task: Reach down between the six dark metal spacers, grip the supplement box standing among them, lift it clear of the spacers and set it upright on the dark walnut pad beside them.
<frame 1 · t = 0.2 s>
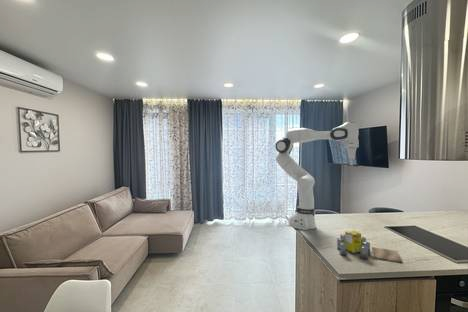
hand: (351, 164, 159), 48 cm above the worktop, tool pointing down, fingers open, 8 cm apart
supplement box: (353, 251, 130), on the worktop
walnut pad: (386, 255, 124), on the worktop
spacer field: (353, 251, 130), on the worktop
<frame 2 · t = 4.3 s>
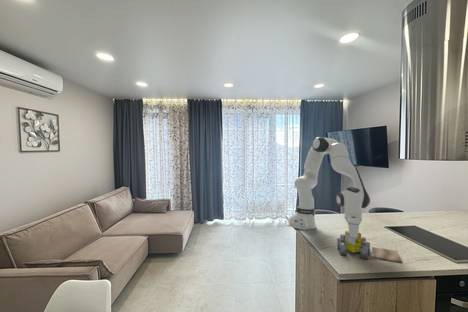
hand: (353, 240, 130), 6 cm above the worktop, tool pointing down, fingers closed on supplement box, 8 cm apart
supplement box: (353, 251, 130), on the worktop, touching gripper
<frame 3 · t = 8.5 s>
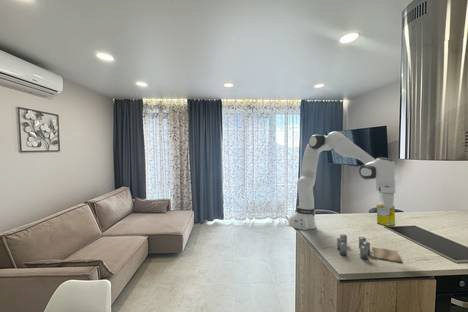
hand: (385, 212, 124), 24 cm above the worktop, tool pointing down, fingers closed on supplement box, 8 cm apart
supplement box: (386, 225, 124), point 16 cm above the worktop, touching gripper
when the fingers open (10 cm above the worktop, at t = 13.1 s): supplement box stays where it is, point 1 cm above the worktop.
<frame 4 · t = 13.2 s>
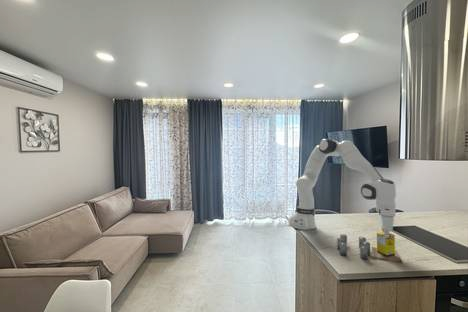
hand: (384, 234, 124), 12 cm above the worktop, tool pointing down, fingers open, 8 cm apart
supplement box: (385, 253, 125), point 1 cm above the worktop
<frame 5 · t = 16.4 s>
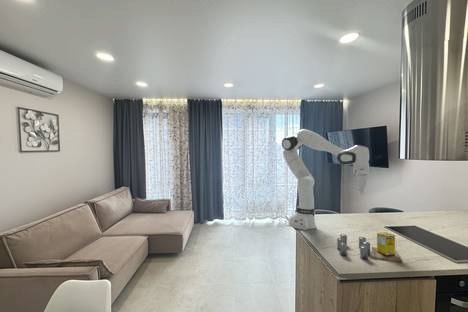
hand: (361, 192, 144), 31 cm above the worktop, tool pointing down, fingers open, 8 cm apart
supplement box: (385, 254, 125), point 1 cm above the worktop, touching walnut pad
at the end: supplement box inside the target area (0.1 cm from its centre), point 0.6 cm above the worktop; supplement box tilted 0°; the gripper is holding nothing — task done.
